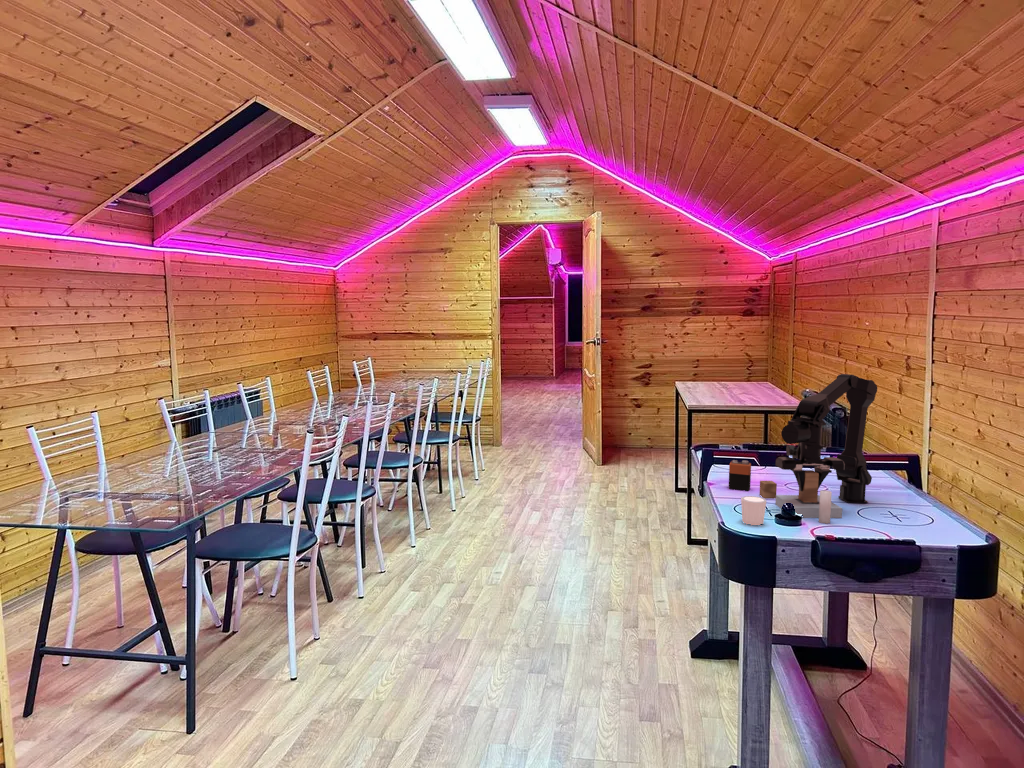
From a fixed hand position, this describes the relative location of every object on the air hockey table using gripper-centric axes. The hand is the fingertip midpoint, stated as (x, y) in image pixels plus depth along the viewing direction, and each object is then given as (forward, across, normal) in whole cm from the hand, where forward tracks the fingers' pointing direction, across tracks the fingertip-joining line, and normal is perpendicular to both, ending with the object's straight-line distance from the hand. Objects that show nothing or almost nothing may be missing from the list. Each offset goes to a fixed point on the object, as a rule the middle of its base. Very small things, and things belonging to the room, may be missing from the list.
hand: (808, 491), depth 195 cm
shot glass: (+6, +21, +12) cm, 25 cm away
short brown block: (+6, +6, -16) cm, 18 cm away
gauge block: (+6, 0, +3) cm, 7 cm away
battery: (+6, +12, -26) cm, 29 cm away
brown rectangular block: (+3, 0, 0) cm, 3 cm away
